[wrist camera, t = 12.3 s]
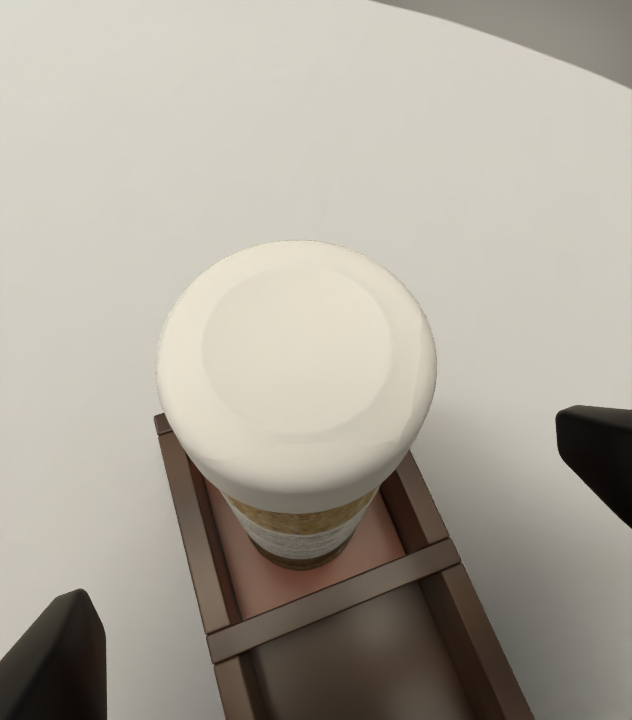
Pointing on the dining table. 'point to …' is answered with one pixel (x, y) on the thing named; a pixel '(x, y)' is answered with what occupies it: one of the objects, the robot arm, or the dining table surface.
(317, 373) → the sprinkles bottle
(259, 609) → the wooden divided tray
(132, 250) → the dining table surface
